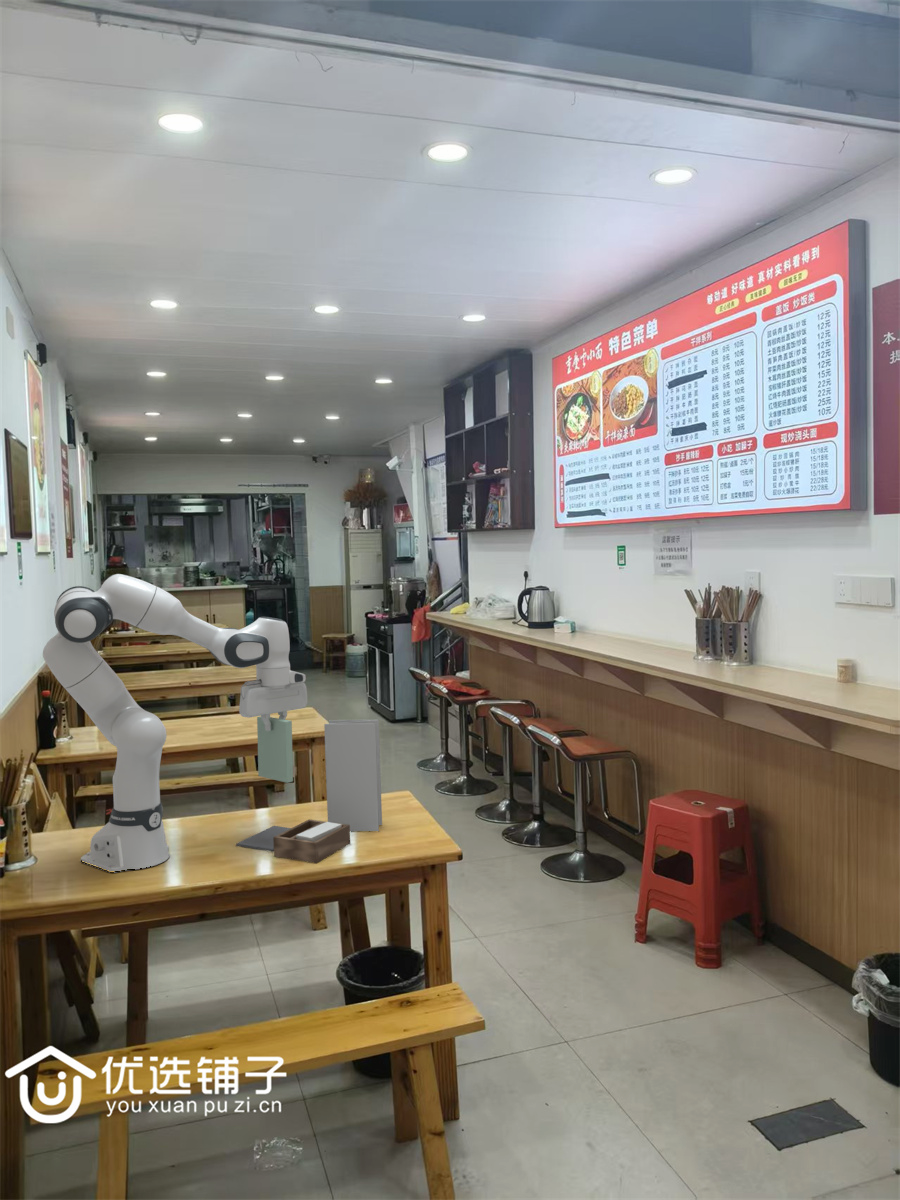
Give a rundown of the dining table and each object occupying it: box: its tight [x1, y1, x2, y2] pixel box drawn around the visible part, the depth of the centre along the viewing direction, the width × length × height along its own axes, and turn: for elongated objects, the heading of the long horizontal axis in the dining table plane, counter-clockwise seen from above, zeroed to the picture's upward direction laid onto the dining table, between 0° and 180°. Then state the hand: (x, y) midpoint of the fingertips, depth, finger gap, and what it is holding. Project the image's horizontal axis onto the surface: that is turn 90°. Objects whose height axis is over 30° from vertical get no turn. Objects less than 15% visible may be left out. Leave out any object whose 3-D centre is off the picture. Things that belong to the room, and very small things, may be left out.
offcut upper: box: [296, 821, 342, 842], centre depth 220 cm, size 5×12×3 cm, turn 148°
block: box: [256, 716, 294, 784], centre depth 227 cm, size 2×12×16 cm, turn 50°
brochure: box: [323, 719, 383, 832], centre depth 237 cm, size 14×6×30 cm, turn 84°
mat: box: [236, 825, 292, 853], centre depth 231 cm, size 12×16×1 cm
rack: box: [273, 819, 351, 864], centre depth 221 cm, size 13×16×5 cm
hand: (274, 729), depth 227 cm, fingers closed on block, 2 cm apart
